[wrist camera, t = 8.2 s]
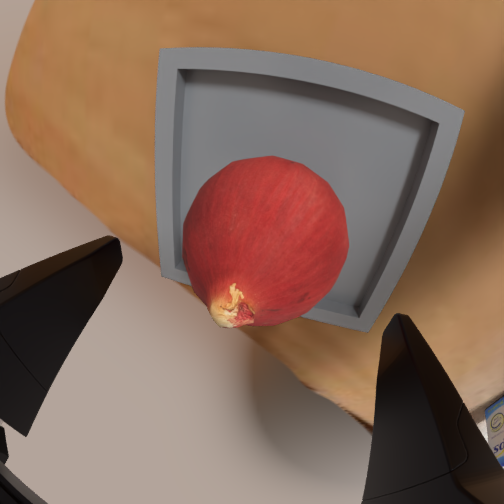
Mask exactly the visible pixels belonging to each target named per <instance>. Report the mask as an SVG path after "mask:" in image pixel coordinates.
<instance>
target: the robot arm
mask: <svg viewBox="0 0 504 504" xmlns="http://www.w3.org/2000/svg"><path fill="white" fill-rule="evenodd" d="M122 259H123V257H122V251H121V245H120V241H119V239H118V238H116V237H113V236H105V237H102V238H99V239H97V240H94V241H91V242H88V243H86V244H83V245H80V246H78V247H75V248H72V249H70V250H68V251H65V252H62V253H59V254H57V255H54V256H52V257H49V258H47V259H45V260H42V261H40V262H37V263H35V264H32V265H30V266H28V267H25V268H23V269H21V270H18V271H16V272H14V273H11V274H9V275H6V276H4V277H2V278H0V504H47V503H46V502H45V501H44V500H43V499H41V498H40V497H39V496H38V495H37V494H35V493H34V492H33V491H32V490H31V489H29V488H28V487H27V486H26V485H25V484H24V483H23V482H22V481H20V480H19V479H18V478H17V477H16V476H15V475H14V474H13V473H12V472H11V471H10V470H9V469H8V468H7V467H6V466H5V463H6V461H7V459H8V457H9V456H8V450H7V444H6V437H5V430H4V428H3V427H2V426H1V424H2V423H3V421H4V422H5V423H7V424H8V425H9V426H11V427H12V428H13V429H15V430H16V431H18V432H19V433H21V434H22V435H23V436H25V437H26V436H27V435H28V433H29V431H30V429H31V426H32V424H33V422H34V420H35V418H36V415H37V413H38V411H39V409H40V407H41V405H42V403H43V401H44V399H45V397H46V395H47V393H48V391H49V389H50V387H51V385H52V383H53V381H54V379H55V377H56V375H57V374H58V372H59V370H60V368H61V367H62V365H63V363H64V361H65V359H66V358H67V356H68V354H69V352H70V351H71V349H72V347H73V346H74V344H75V342H76V340H77V339H78V337H79V335H80V334H81V332H82V330H83V329H84V327H85V326H86V324H87V322H88V320H89V319H90V318H91V316H92V315H93V313H94V311H95V310H96V308H97V307H98V305H99V304H100V302H101V300H102V299H103V297H104V295H105V294H106V291H107V290H108V288H109V286H110V284H111V282H112V280H113V279H114V277H115V275H116V273H117V271H118V270H119V268H120V266H121V264H122ZM362 500H363V501H362V503H361V504H504V468H503V467H502V466H501V465H500V463H499V461H498V460H497V458H496V456H495V455H494V453H493V451H492V450H491V448H490V446H489V445H488V443H487V441H486V440H485V438H484V437H483V435H482V433H481V432H480V430H479V428H478V427H477V425H476V423H475V421H474V420H473V418H472V416H471V414H470V413H469V411H468V409H467V407H466V405H465V404H464V403H463V400H462V398H461V397H460V395H459V393H458V392H457V390H456V388H455V386H454V385H453V383H452V381H451V380H450V378H449V376H448V375H447V373H446V372H445V370H444V368H443V367H442V365H441V363H440V362H439V360H438V359H437V357H436V356H435V354H434V353H433V351H432V349H431V348H430V346H429V345H428V343H427V342H426V340H425V339H424V337H423V336H422V334H421V333H420V331H419V330H418V329H417V327H416V326H415V324H414V323H413V321H412V320H411V318H410V317H409V316H408V315H404V314H400V313H397V314H395V315H394V316H393V318H392V319H391V321H390V322H389V324H388V326H387V327H386V329H385V330H384V332H383V336H382V343H381V352H380V360H379V367H378V374H377V383H376V400H375V414H374V425H373V435H372V444H371V451H370V459H369V465H368V472H367V478H366V484H365V489H364V494H363V499H362Z"/></svg>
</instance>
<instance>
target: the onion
mask: <svg viewBox="0 0 504 504" xmlns="http://www.w3.org/2000/svg"><path fill="white" fill-rule="evenodd" d="M348 250H349V238H348V230H347V223H346V216H345V210H344V207H343V205H342V203H341V202H340V200H339V199H338V197H337V195H336V194H335V192H334V191H333V189H332V187H331V186H330V184H329V183H328V182H327V181H326V180H324V179H323V178H322V177H320V176H319V175H317V174H316V173H315V172H313V171H312V170H311V169H309V168H308V167H306V166H305V165H304V164H301V163H298V162H295V161H291V160H288V159H284V158H280V157H277V156H273V155H272V156H264V157H256V158H249V159H242V160H237V161H233V162H231V163H230V164H228V165H227V166H225V167H224V168H223V169H221V170H220V171H219V172H217V173H216V174H215V175H213V176H212V177H211V178H209V179H208V180H207V181H206V182H205V183H204V185H203V186H202V187H201V188H200V189H199V191H198V193H197V195H196V197H195V199H194V201H193V203H192V205H191V207H190V209H189V211H188V213H187V215H186V218H185V220H184V223H183V245H182V258H183V261H184V264H185V267H186V270H187V273H188V276H189V279H190V282H191V285H192V288H193V290H194V292H195V293H196V295H197V296H198V297H199V298H200V299H201V300H202V301H203V302H204V304H205V305H206V306H207V309H208V311H209V313H210V315H211V316H212V318H213V320H214V321H215V322H216V324H217V325H218V326H219V327H224V328H236V327H240V326H243V325H249V326H274V325H277V324H280V323H283V322H286V321H289V320H291V319H294V318H297V317H299V316H301V315H303V314H305V313H307V312H308V311H310V310H311V309H312V308H313V307H314V306H315V305H316V304H317V303H318V302H319V301H320V300H321V299H322V298H323V297H324V296H325V295H326V294H328V293H329V292H330V290H331V289H332V287H333V286H334V284H335V283H336V281H337V279H338V276H339V274H340V272H341V270H342V267H343V265H344V263H345V261H346V258H347V254H348Z"/></svg>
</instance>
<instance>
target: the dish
mask: <svg viewBox="0 0 504 504" xmlns="http://www.w3.org/2000/svg"><path fill="white" fill-rule="evenodd" d="M464 112H465V111H464V110H462V109H460V108H458V107H456V106H454V105H452V104H450V103H448V102H446V101H443V100H441V99H439V98H437V97H435V96H432V95H430V94H428V93H425V92H423V91H420V90H418V89H415V88H413V87H410V86H408V85H405V84H402V83H399V82H397V81H394V80H391V79H388V78H385V77H382V76H379V75H376V74H372V73H369V72H366V71H362V70H359V69H355V68H351V67H348V66H344V65H340V64H335V63H331V62H327V61H322V60H317V59H312V58H307V57H301V56H295V55H289V54H283V53H275V52H267V51H258V50H247V49H233V48H206V47H190V48H163V49H160V52H159V63H158V76H157V92H156V114H155V189H156V212H157V229H158V243H159V255H160V266H161V275H162V277H165V278H168V279H171V280H174V281H177V282H181V283H184V284H187V285H190V286H192V285H191V282H190V279H189V276H188V273H187V270H186V267H185V264H184V261H183V258H182V245H183V223H184V220H185V218H186V215H187V213H188V211H189V209H190V207H191V205H192V203H193V201H194V199H195V197H196V195H197V193H198V191H199V189H200V188H201V187H202V186H203V185H204V183H205V182H206V181H207V180H208V179H209V178H211V177H212V176H213V175H215V174H216V173H217V172H219V171H220V170H221V169H223V168H224V167H225V166H227V165H228V164H230V163H231V162H233V161H237V160H242V159H249V158H256V157H264V156H272V155H273V156H277V157H280V158H284V159H288V160H291V161H295V162H298V163H301V164H304V165H305V166H306V167H308V168H309V169H311V170H312V171H313V172H315V173H316V174H317V175H319V176H320V177H322V178H323V179H324V180H326V181H327V182H328V183H329V184H330V186H331V187H332V189H333V191H334V192H335V194H336V195H337V197H338V199H339V200H340V202H341V203H342V205H343V207H344V210H345V216H346V223H347V230H348V238H349V250H348V254H347V258H346V261H345V263H344V265H343V267H342V270H341V272H340V274H339V276H338V279H337V281H336V283H335V284H334V286H333V287H332V289H331V290H330V292H329V293H328V294H326V295H325V296H324V297H323V298H322V299H321V300H320V301H319V302H318V303H317V304H316V305H315V306H314V307H313V308H312V309H311V310H310V311H308V312H307V313H305V314H303V315H301V316H300V317H304V318H308V319H312V320H316V321H320V322H324V323H328V324H332V325H336V326H341V327H345V328H349V329H353V330H358V331H362V332H367V333H368V332H369V330H370V329H371V327H372V326H373V324H374V322H375V321H376V319H377V317H378V316H379V314H380V312H381V311H382V309H383V307H384V306H385V304H386V302H387V300H388V299H389V297H390V295H391V293H392V292H393V290H394V288H395V286H396V284H397V283H398V281H399V279H400V277H401V275H402V273H403V271H404V269H405V267H406V265H407V263H408V261H409V259H410V257H411V255H412V253H413V251H414V249H415V247H416V245H417V243H418V241H419V239H420V237H421V234H422V232H423V230H424V228H425V225H426V223H427V221H428V219H429V216H430V214H431V211H432V209H433V207H434V204H435V202H436V199H437V197H438V194H439V191H440V189H441V186H442V183H443V181H444V178H445V175H446V172H447V170H448V167H449V164H450V161H451V158H452V154H453V151H454V148H455V145H456V142H457V138H458V135H459V131H460V128H461V124H462V120H463V116H464Z"/></svg>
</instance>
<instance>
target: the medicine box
mask: <svg viewBox="0 0 504 504" xmlns="http://www.w3.org/2000/svg"><path fill="white" fill-rule="evenodd" d="M485 417H486V424H487V433H488V444H489V446H490V448H491V450H492V451H493V453H494V455H495V456H496V458H497V460H498V461H499V463H500V465H501V466H502V467H503V468H504V396H503V397H502V398H500V399H499V400H498V401H496V402H495V403H494V404H492V405H491V406H490V407H488V408H487V409H486V410H485Z"/></svg>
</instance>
